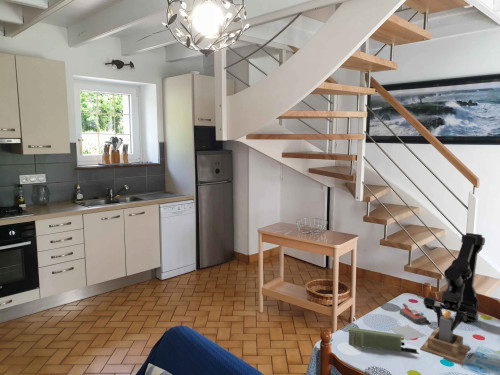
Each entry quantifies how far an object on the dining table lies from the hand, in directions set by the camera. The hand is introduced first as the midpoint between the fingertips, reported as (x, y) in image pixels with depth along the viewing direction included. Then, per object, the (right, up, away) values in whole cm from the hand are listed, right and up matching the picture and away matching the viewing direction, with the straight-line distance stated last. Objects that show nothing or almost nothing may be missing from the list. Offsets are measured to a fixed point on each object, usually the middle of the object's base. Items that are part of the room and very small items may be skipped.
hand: (445, 328), depth 146 cm
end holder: (+1, -9, +2) cm, 9 cm away
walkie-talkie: (0, -6, +32) cm, 33 cm away
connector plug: (+1, -6, +2) cm, 7 cm away
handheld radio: (-23, -9, +3) cm, 25 cm away
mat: (-8, -7, +15) cm, 19 cm away
